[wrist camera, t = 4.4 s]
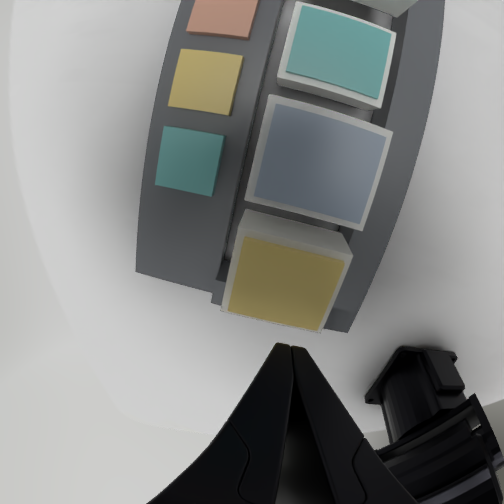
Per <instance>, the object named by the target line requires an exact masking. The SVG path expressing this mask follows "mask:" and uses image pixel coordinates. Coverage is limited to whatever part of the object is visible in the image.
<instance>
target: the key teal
mask: <svg viewBox="0 0 504 504" xmlns="http://www.w3.org/2000/svg"><path fill="white" fill-rule="evenodd" d="M395 39H396V33H395V32H393V31H391V30H388V29H386V28H383V27H381V26H378V25H376V24H373V23H370V22H368V21H365V20H362V19H359V18H356V17H353V16H350V15H347V14H344V13H341V12H338V11H334V10H331V9H327V8H324V7H320V6H316V5H312V4H308V3H304V2H299V1H296V3H295V7H294V10H293V14H292V18H291V22H290V26H289V30H288V34H287V38H286V41H285V45H284V49H283V53H282V57H281V61H280V65H279V69H278V73H277V85H279V86H283V87H287V88H291V89H295V90H299V91H303V92H307V93H311V94H314V95H318V96H321V97H325V98H328V99H331V100H335V101H338V102H341V103H344V104H347V105H350V106H353V107H356V108H359V109H362V110H364V111H367V110H374V109H381V106H382V102H383V97H384V93H385V89H386V84H387V80H388V75H389V70H390V65H391V60H392V55H393V50H394V44H395Z"/></svg>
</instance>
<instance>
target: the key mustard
mask: <svg viewBox="0 0 504 504" xmlns="http://www.w3.org/2000/svg"><path fill="white" fill-rule="evenodd" d="M352 258H353V254H352V252H351V250H350V248H349V246H348V244H347V242H346V240H345V238H344V236H343V235H342V233H339V232H335V231H332V230H328V229H324V228H321V227H317V226H313V225H309V224H305V223H302V222H298V221H294V220H290V219H286V218H282V217H278V216H274V215H270V214H266V213H262V212H258V211H254V210H249V209H245V212H244V214H243V216H242V219H241V221H240V224H239V226H238V230H237V235H236V239H235V244H234V248H233V253H232V258H231V262H230V267H229V272H228V276H227V281H226V286H225V291H224V295H223V300H222V305H221V310H220V311H223V312H227V313H231V314H235V315H239V316H243V317H248V318H252V319H256V320H261V321H265V322H269V323H274V324H279V325H283V326H288V327H293V328H297V329H302V330H307V331H312V332H317V333H321V331H322V329H323V327H324V325H325V323H326V320H327V318H328V316H329V314H330V311H331V309H332V307H333V304H334V302H335V300H336V297H337V295H338V293H339V290H340V288H341V285H342V283H343V280H344V278H345V276H346V273H347V271H348V268H349V265H350V263H351V260H352Z"/></svg>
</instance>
